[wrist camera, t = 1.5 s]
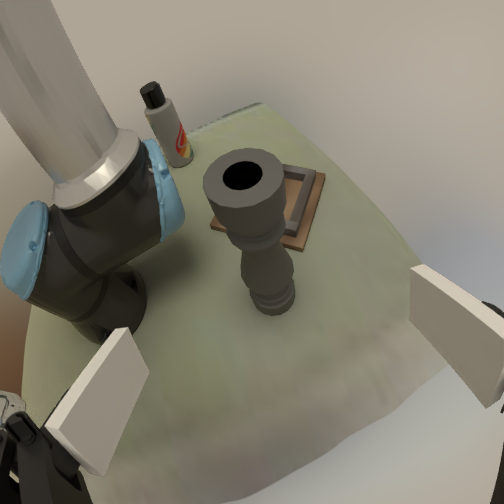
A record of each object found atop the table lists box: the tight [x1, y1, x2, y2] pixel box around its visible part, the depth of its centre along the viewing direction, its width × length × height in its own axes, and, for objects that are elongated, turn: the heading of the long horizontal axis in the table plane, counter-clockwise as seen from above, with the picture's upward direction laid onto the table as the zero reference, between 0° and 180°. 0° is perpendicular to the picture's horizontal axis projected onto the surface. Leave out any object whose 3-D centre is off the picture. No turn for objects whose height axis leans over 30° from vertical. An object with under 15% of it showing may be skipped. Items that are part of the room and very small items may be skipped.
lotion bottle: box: [140, 81, 193, 168], centre depth 49 cm, size 6×6×20 cm
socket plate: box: [210, 164, 325, 252], centre depth 47 cm, size 16×16×3 cm
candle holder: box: [203, 148, 295, 316], centre depth 30 cm, size 6×6×25 cm
